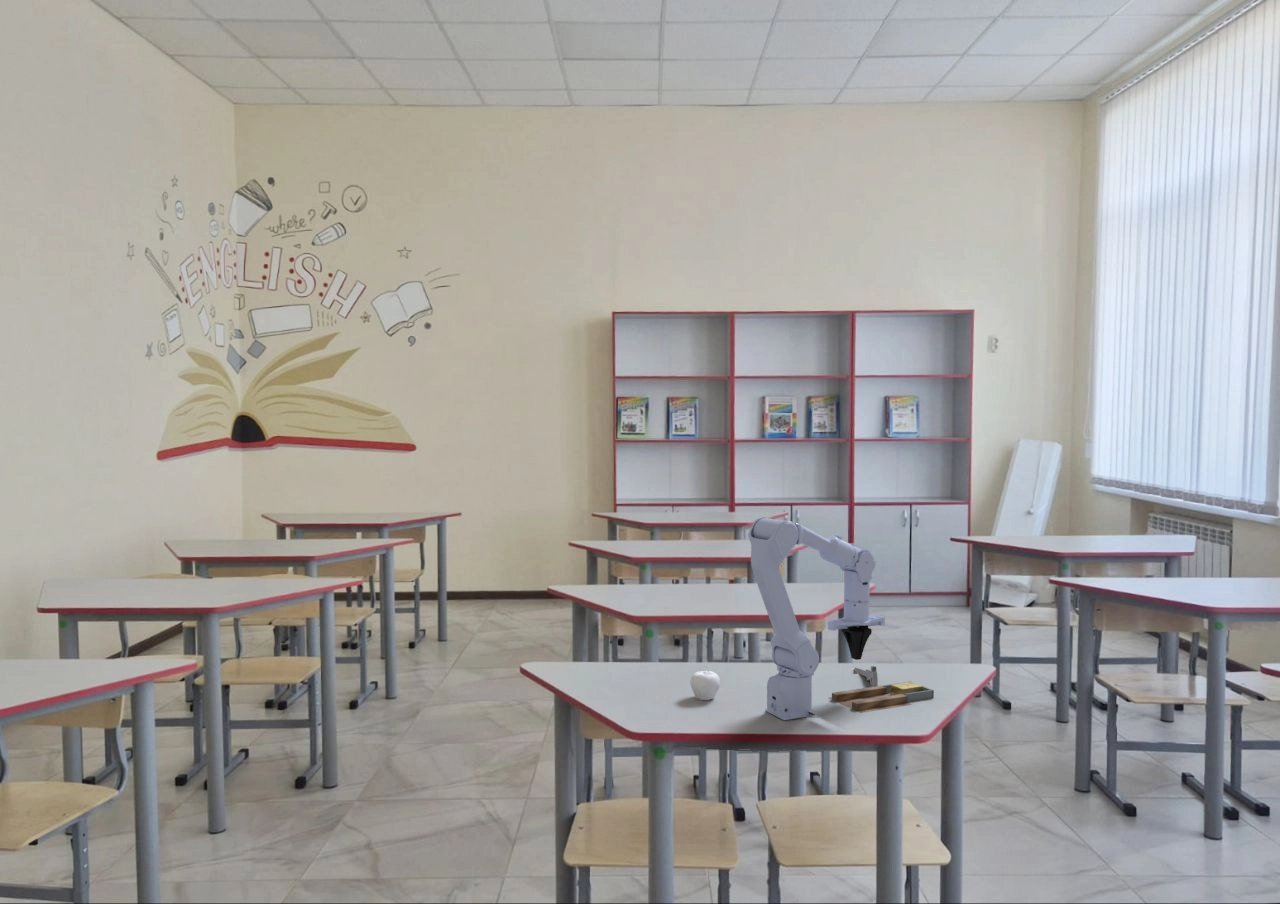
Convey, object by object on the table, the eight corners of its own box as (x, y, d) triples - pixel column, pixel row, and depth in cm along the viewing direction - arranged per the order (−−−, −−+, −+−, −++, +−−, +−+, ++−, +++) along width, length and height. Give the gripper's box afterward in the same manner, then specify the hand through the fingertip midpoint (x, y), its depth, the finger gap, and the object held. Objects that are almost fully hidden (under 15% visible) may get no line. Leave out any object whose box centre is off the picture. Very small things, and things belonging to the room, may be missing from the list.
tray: (905, 707, 212) (905, 694, 211) (883, 697, 219) (883, 685, 219) (933, 702, 215) (933, 690, 215) (910, 693, 222) (910, 681, 222)
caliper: (877, 694, 223) (878, 668, 222) (873, 694, 223) (873, 668, 222) (857, 671, 243) (857, 647, 243) (853, 671, 243) (853, 647, 243)
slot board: (860, 717, 204) (860, 705, 204) (828, 702, 215) (828, 691, 215) (911, 709, 210) (911, 697, 210) (877, 695, 221) (877, 684, 221)
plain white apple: (690, 702, 215) (690, 668, 215) (689, 693, 222) (689, 660, 222) (721, 703, 215) (721, 668, 215) (719, 694, 222) (719, 660, 222)
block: (902, 702, 214) (902, 689, 214) (890, 697, 218) (890, 684, 217) (922, 698, 216) (923, 686, 216) (911, 694, 220) (911, 681, 220)
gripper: (840, 605, 209) (840, 665, 210) (893, 600, 215) (892, 659, 215) (822, 600, 216) (822, 658, 216) (874, 595, 222) (873, 652, 222)
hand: (856, 658), depth 216 cm, fingers closed
